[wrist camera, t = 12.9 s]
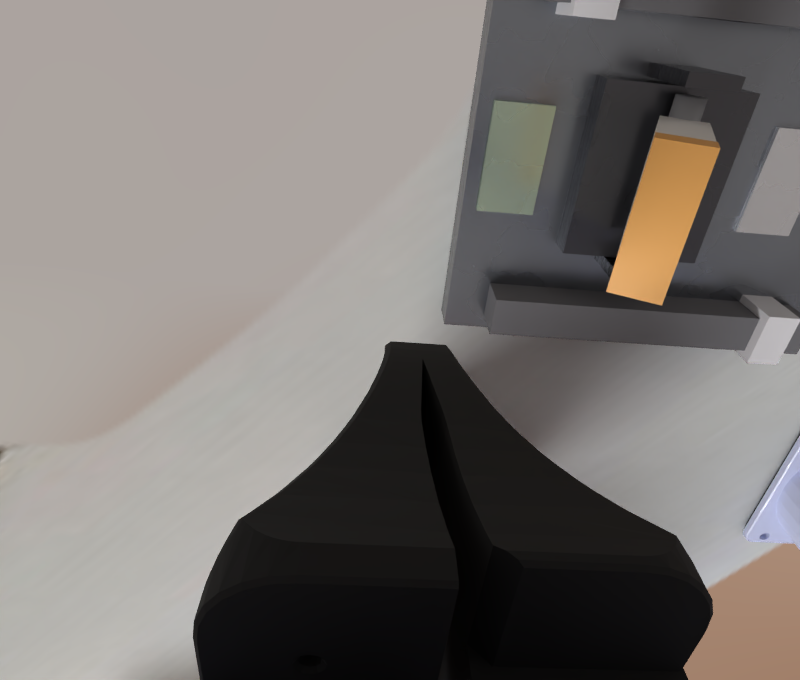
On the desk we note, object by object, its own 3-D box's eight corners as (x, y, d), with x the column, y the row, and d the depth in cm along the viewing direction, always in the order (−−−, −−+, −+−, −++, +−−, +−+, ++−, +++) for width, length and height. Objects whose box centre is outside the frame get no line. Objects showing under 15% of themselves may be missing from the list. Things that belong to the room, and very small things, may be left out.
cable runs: (922, -22, 18) (1014, -25, 15) (755, 327, 24) (799, 366, 22) (547, -66, 17) (576, -78, 14) (478, 307, 23) (489, 346, 21)
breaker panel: (971, -25, 18) (1104, -30, 14) (786, 333, 24) (848, 385, 21) (498, -80, 17) (526, -99, 13) (441, 309, 23) (451, 360, 20)
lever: (717, 98, 17) (730, 121, 12) (660, 260, 19) (654, 324, 15) (666, 91, 17) (661, 111, 13) (616, 250, 20) (600, 310, 16)
